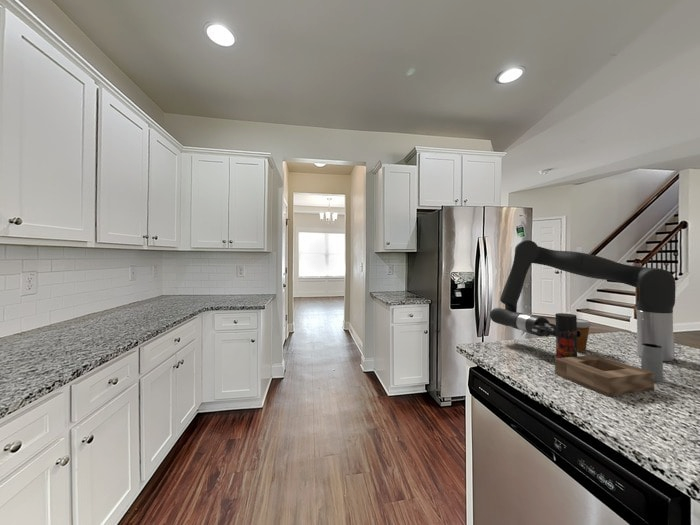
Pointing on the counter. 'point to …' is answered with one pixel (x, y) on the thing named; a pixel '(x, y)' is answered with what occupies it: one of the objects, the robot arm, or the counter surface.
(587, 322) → the disposable coffee cup
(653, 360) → the gray cylindrical tube
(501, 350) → the counter surface
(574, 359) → the socket block
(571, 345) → the deodorant
